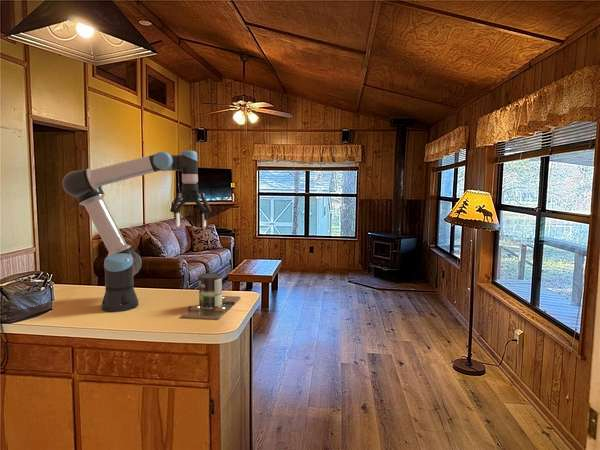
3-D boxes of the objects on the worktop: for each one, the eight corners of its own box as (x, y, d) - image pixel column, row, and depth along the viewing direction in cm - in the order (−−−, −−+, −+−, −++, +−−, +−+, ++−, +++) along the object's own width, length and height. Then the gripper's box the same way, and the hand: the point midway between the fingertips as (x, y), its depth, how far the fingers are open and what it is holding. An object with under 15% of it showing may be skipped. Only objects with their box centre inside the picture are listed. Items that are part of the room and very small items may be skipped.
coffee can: (203, 310, 173) (203, 278, 172) (196, 304, 181) (195, 274, 180) (226, 306, 178) (225, 276, 177) (217, 301, 187) (216, 272, 186)
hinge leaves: (181, 317, 164) (181, 311, 164) (208, 297, 195) (208, 292, 195) (219, 319, 162) (218, 312, 162) (240, 298, 193) (240, 293, 192)
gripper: (217, 183, 195) (218, 226, 197) (169, 183, 198) (170, 225, 200) (212, 182, 188) (212, 227, 190) (162, 183, 191) (163, 227, 193)
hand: (191, 226), depth 195 cm, fingers open, 13 cm apart
